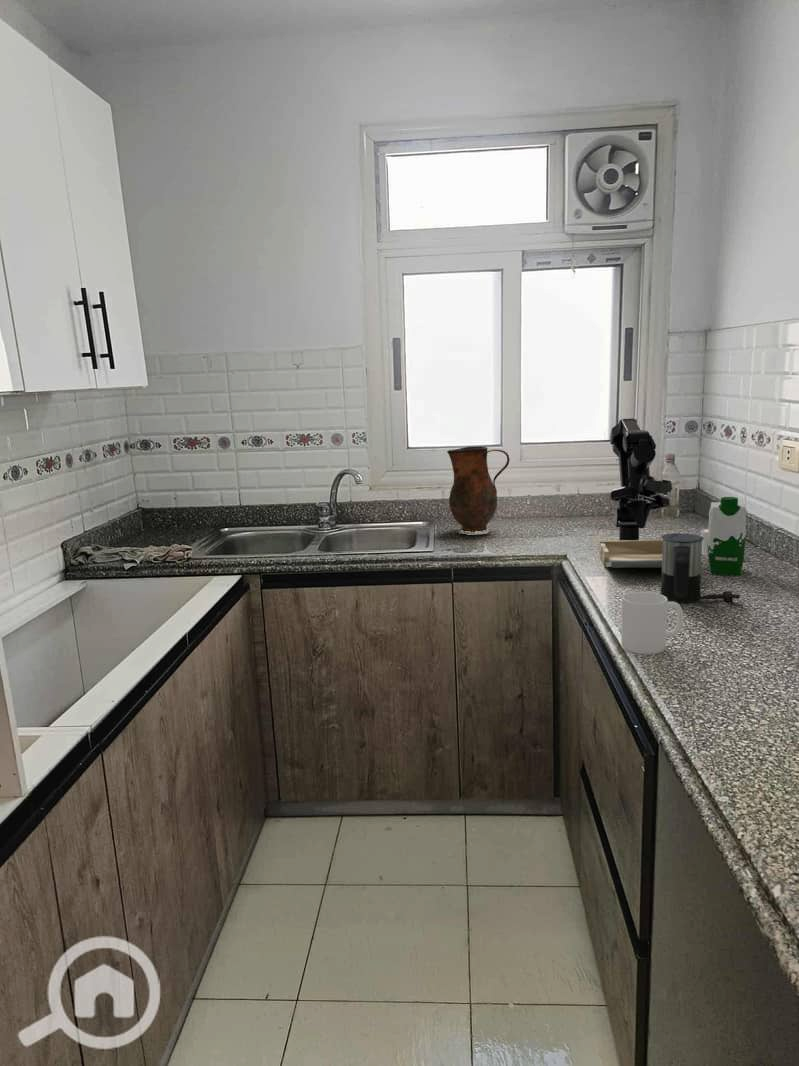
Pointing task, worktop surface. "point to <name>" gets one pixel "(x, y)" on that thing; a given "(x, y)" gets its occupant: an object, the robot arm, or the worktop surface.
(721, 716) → the worktop surface
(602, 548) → the beige open tray
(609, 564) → the sage green panel
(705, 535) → the shot glass
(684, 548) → the milk frother
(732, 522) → the milk carton
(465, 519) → the pitcher
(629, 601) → the cup
